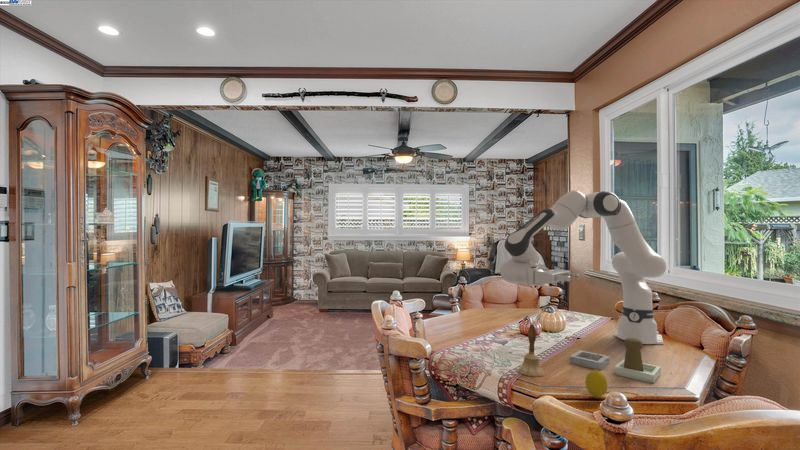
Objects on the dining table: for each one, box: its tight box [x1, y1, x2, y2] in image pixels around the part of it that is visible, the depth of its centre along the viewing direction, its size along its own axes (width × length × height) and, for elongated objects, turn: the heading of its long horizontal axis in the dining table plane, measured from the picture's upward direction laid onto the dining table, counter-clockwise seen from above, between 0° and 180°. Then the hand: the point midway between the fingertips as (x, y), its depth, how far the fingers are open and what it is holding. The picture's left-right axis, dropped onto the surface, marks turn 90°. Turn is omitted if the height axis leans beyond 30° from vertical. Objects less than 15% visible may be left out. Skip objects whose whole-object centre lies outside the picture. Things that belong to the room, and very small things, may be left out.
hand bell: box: [517, 323, 545, 378], centre depth 128 cm, size 8×8×16 cm
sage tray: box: [614, 358, 662, 384], centre depth 127 cm, size 11×11×2 cm
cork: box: [623, 338, 644, 372], centre depth 127 cm, size 6×6×11 cm
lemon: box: [585, 369, 608, 399], centre depth 108 cm, size 6×6×8 cm
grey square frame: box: [569, 349, 611, 371], centre depth 138 cm, size 10×10×2 cm
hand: (574, 277), depth 144 cm, fingers open, 8 cm apart
